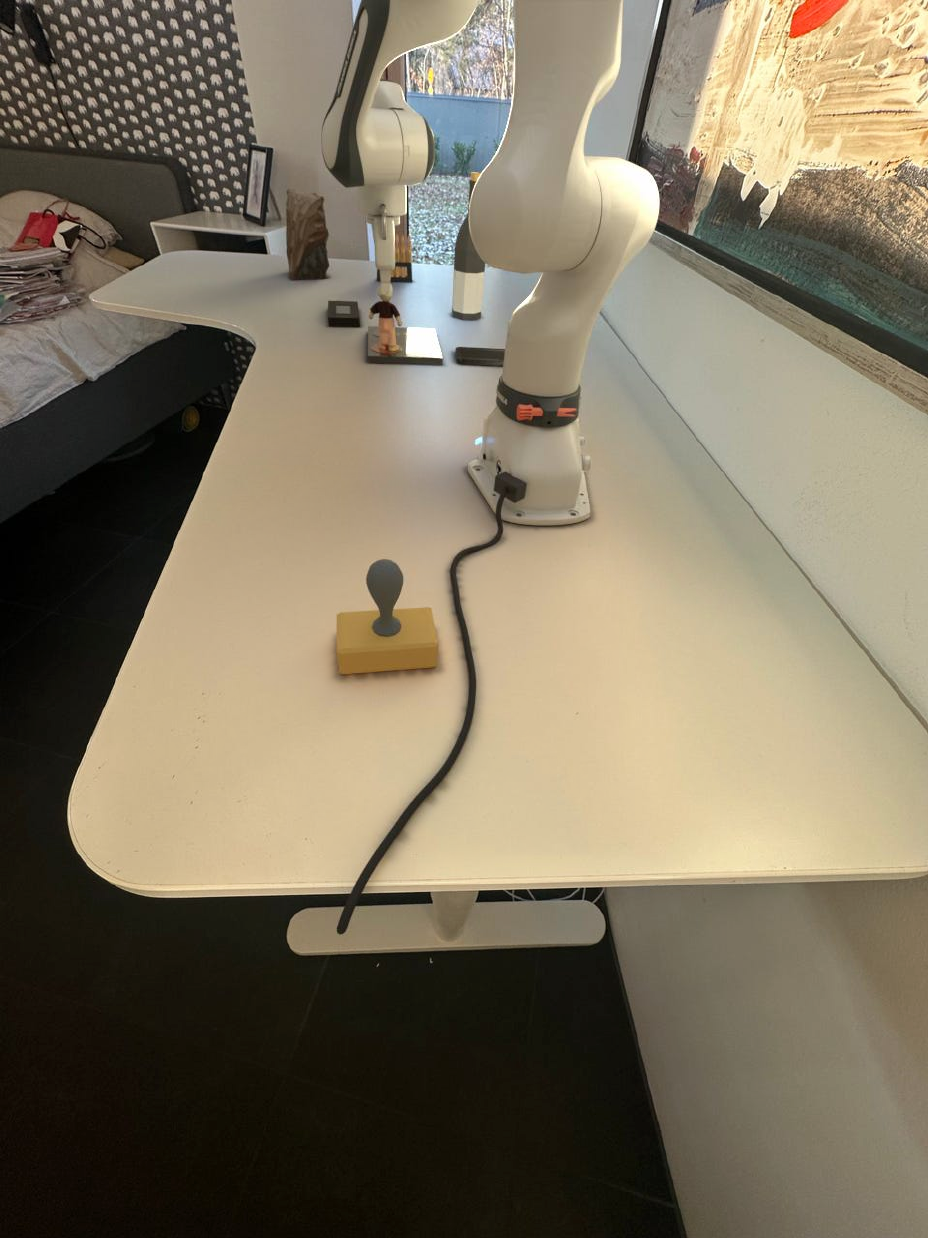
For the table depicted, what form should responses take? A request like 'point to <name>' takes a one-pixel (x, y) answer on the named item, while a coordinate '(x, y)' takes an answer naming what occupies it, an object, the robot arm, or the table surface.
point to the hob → (406, 347)
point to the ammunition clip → (401, 262)
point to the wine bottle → (467, 271)
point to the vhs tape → (343, 313)
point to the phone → (480, 356)
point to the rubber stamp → (385, 629)
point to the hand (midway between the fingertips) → (385, 285)
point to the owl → (306, 236)
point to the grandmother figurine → (386, 320)
